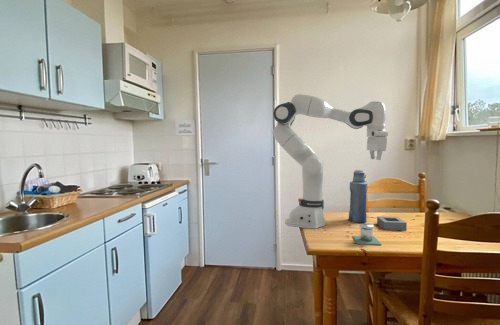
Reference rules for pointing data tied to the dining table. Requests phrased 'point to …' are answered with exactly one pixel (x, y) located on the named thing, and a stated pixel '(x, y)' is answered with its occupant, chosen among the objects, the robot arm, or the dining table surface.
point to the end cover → (366, 231)
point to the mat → (361, 242)
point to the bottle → (358, 198)
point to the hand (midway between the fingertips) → (375, 159)
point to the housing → (391, 223)
